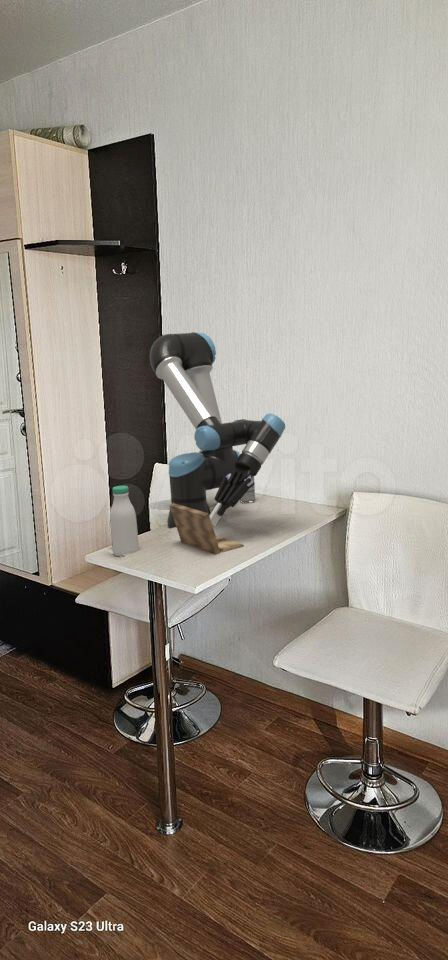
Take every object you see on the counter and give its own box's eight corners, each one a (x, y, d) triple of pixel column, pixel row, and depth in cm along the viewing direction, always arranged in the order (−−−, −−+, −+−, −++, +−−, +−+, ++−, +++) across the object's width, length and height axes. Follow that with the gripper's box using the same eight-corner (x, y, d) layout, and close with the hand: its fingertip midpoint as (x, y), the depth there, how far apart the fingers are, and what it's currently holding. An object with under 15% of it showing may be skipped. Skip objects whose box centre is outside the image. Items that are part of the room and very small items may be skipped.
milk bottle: (144, 552, 206) (139, 485, 202) (123, 558, 201) (117, 491, 197) (128, 547, 211) (123, 483, 207) (107, 554, 206) (101, 487, 202)
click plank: (181, 543, 211) (169, 505, 207) (185, 541, 212) (173, 503, 208) (216, 556, 197) (204, 515, 193) (220, 554, 198) (208, 513, 193)
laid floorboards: (186, 543, 213) (186, 537, 212) (208, 537, 217) (207, 531, 217) (221, 555, 198) (221, 549, 198) (244, 549, 203) (243, 543, 202)
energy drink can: (247, 504, 257) (245, 464, 254) (235, 502, 261) (233, 462, 258) (258, 500, 261) (256, 461, 258) (246, 498, 265) (244, 460, 262)
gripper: (272, 468, 209) (231, 534, 202) (245, 464, 219) (205, 526, 213) (258, 453, 205) (215, 520, 198) (230, 450, 215) (190, 513, 208)
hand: (210, 523), depth 205 cm, fingers closed
